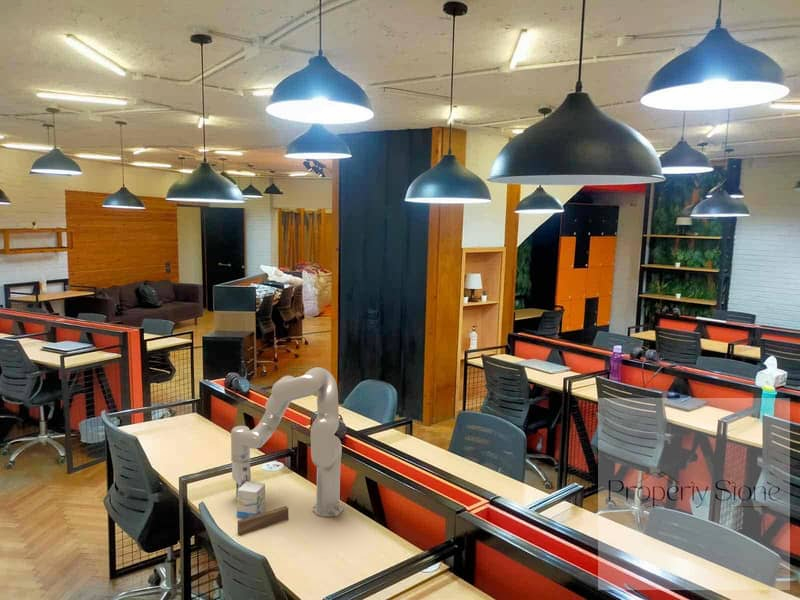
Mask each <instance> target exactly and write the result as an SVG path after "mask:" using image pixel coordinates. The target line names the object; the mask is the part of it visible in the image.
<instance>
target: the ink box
mask: <svg viewBox="0 0 800 600" xmlns="http://www.w3.org/2000/svg"><path fill="white" fill-rule="evenodd" d="M237 489H238V488H237ZM236 501H237V503H236V505H237V507H236V509H237V510H236V517H237V518H241V519H245V518H248V517H251V516H254V515H258V514H261V513H264V512H265V511H264V510H266V483H263V482H257V481H251V482H249V481H246V482H245V483H244V484H243V485H242V486H241V487H240V488H239V489H238V490H237V497H236ZM263 511H264V512H263Z"/></svg>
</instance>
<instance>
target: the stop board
mask: <svg viewBox="0 0 800 600" xmlns="http://www.w3.org/2000/svg"><path fill="white" fill-rule="evenodd" d="M288 520H289V507H288V506H287V505H284V506H281V507H278V508H275V509H271V510H268V511H264V512H263V513H261V514H258V515H254V516H251V517H248V518H241V519H238V520H237V534H238V536H242V535H246V534H249V533H252V532H255V531H257V530H261V529H263V528H267V527H271V526H273V525H277V524H279V523H282V522H286V521H288Z"/></svg>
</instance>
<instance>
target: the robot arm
mask: <svg viewBox="0 0 800 600" xmlns="http://www.w3.org/2000/svg"><path fill="white" fill-rule="evenodd" d="M316 393H317V399H316V409H317V412H316V413H317V414H316V418H314V419H315V420H313V422H312V423H311V426H310V436H309V437H310V456H311V461H312V463H313V465H315V466H316V503H314V504H313V506H312V513H314V515H315V516H318V517H323V518H332V517H338V516H339V515H340V514H342V513H343V512H344V504H343V503H341V501H340V499H341V497H340V495H341V493H340V491H341V465H342V463H341V461H342V454H343V453H342V451H343V449H342V448H343V445H342V441H341V440H340V438H339V437H338V436H336V435H335V434H336V433H337V431H338V429H339V426H340V416H339V415H340V412H339V411H340V410H339V391H338V385H337V381H336V379H335V377H334V375H333V374H332V373H330V371H329V370H327V369H326V368H324V367H319V366H317V367H313V368H311V369H309V370H307V372H305V373H304V374H303V375H300V376H297V377H294V376H292V375H284V376H282V377H281V378H280V379H278V380H277V381H276V382H275V383H274V384H273V385H272V388H271V394H270V396H269V397H268V399H267V400H266V402H265V405H264V408H265V412H264V414H263V415H262V418H261V419H260V421H259V422H258V424H257V425H256V426H255V427H254V428H253V429H250V428H249V426H246V425H237V426H236V425H235V426H234V427H233V428H232V429H231V430H230V456H231V457H230V460H231V462H232V463H231V477H232V479H233V480H234V482H235V488H236V490H235V491H236V494H235V495H236V497H235V498H237V490H238V489H239V488H240V487H241V486H242V485H243V484H244V483H245V482H246V481H249V482H252V475H251V474H252V473H251V472H252V471H251V464H250V463H251V462H250V460H251V449H254V450H257V449H260V448H262V447H263V445H265V444H266V443H267V441H268V440H269V439H270V438H271V437H272V436H273V434H274V432H275V431H276V430H277V427H278V426H279V424H280V423H281V420H282V418H283V417H284V415H285V413H286V411H287V410H288V407H290V404H291V402H293V401H295V400H299V399H300V400H301V399H303V398H307V397H310V396H311V397H312V396H313V395H315V394H316Z"/></svg>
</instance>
